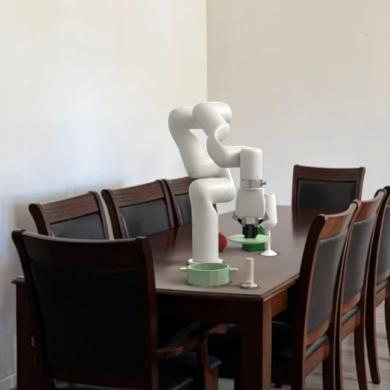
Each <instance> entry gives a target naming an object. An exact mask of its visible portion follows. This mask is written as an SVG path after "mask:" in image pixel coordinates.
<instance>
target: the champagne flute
mask: <svg viewBox="0 0 390 390" xmlns="http://www.w3.org/2000/svg"><path fill="white" fill-rule="evenodd" d="M265 198H266V212H267V214H268V216H269V219H268V220H266V221H264V222H262V223H261V224H262V226H263V227H264V228H265V230H267V231H266V236H269V237H271V230H272V229H274V228H275V227H276V226H277V224H278V214H277V212H278V211H277V203H276V202H277V201H276V193H273V192H271V193H270V192H268V193H267V192H265ZM262 218H263V217H262ZM266 243H267V244H266V247H267V248H266V249H265V250H263V252H261V253H260V256H266V257H271V256H272V257H273V256H277V255H278V253H276V252H275V251H273V250H272V249H271V241H269V242H266Z"/></svg>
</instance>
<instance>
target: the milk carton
mask: <svg viewBox="0 0 390 390" xmlns="http://www.w3.org/2000/svg"><path fill="white" fill-rule="evenodd" d="M260 219H261V218H259V220H260ZM247 223H254V225H255V218H246V224H247ZM241 234H243V226H242V225H241ZM258 235H266V229H265V228H264V227H263V226H262V224H260V225H259V226H258ZM241 249H242V250H244V251H247V252H258V251H266V242H265V243H261V244H241Z"/></svg>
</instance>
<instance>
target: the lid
mask: <svg viewBox="0 0 390 390" xmlns="http://www.w3.org/2000/svg"><path fill="white" fill-rule="evenodd" d="M253 227H254V223H247V238H244V235H243V234H242V233H241V234H235V235H231V236H229V237H228V241H230V242H233V243H236V244H241V245H242V244H261V243H265V244H266V243H267V242H269V241H270V242H272V237H271V236H270V237H269V236H267V234H265V235H258V236H256V238H253Z"/></svg>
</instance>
